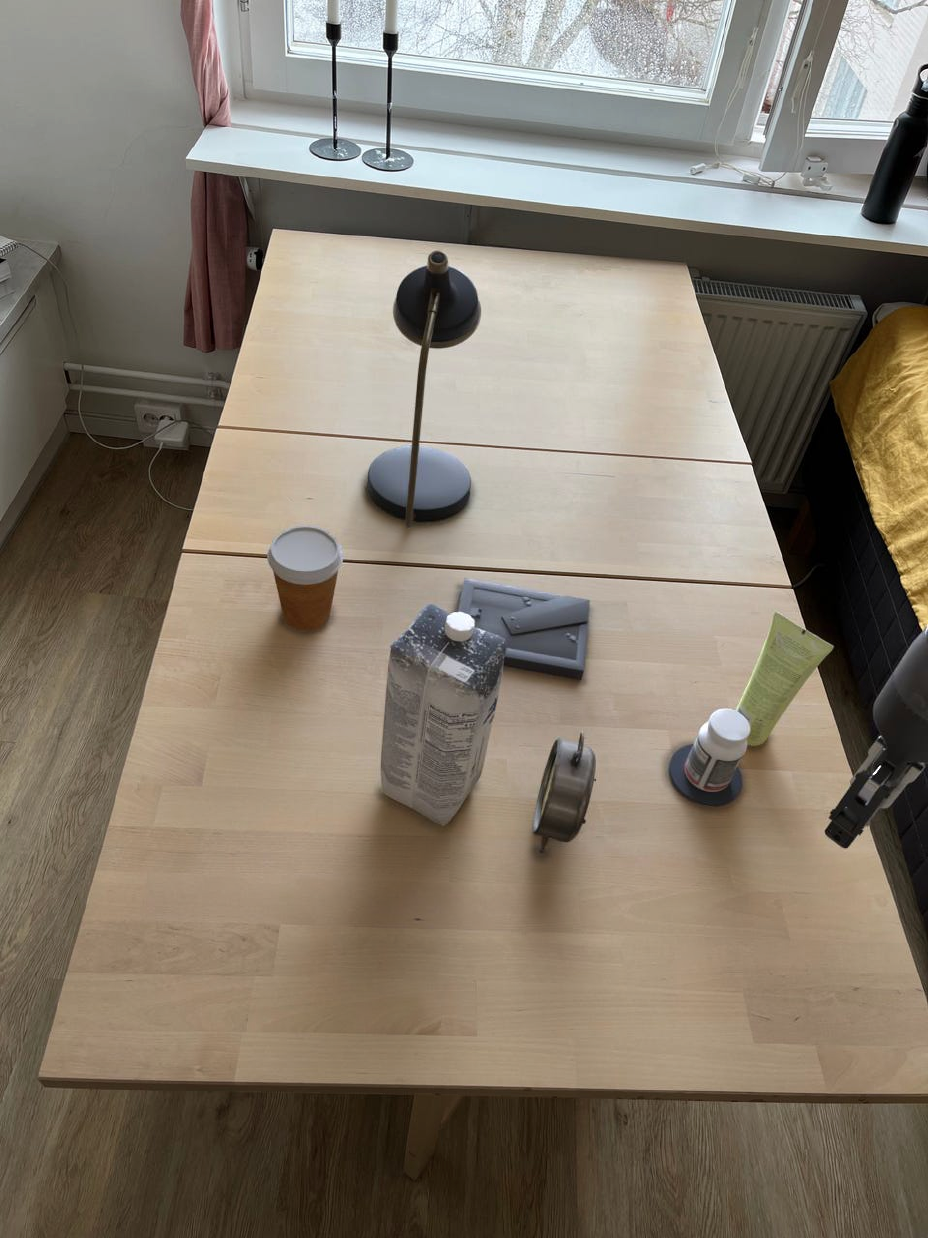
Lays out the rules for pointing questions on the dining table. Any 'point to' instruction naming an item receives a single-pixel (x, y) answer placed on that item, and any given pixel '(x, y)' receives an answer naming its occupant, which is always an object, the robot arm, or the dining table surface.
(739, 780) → the coaster
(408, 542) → the dining table surface
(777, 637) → the tube
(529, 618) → the picture frame
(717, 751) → the pill bottle
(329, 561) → the disposable coffee cup
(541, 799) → the alarm clock
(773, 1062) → the dining table surface
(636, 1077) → the dining table surface
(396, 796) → the juice carton
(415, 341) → the lamp
